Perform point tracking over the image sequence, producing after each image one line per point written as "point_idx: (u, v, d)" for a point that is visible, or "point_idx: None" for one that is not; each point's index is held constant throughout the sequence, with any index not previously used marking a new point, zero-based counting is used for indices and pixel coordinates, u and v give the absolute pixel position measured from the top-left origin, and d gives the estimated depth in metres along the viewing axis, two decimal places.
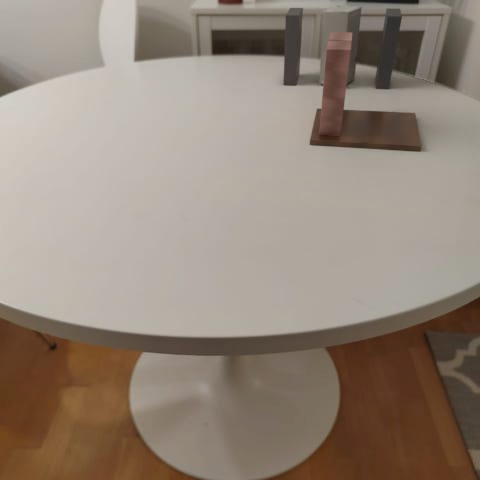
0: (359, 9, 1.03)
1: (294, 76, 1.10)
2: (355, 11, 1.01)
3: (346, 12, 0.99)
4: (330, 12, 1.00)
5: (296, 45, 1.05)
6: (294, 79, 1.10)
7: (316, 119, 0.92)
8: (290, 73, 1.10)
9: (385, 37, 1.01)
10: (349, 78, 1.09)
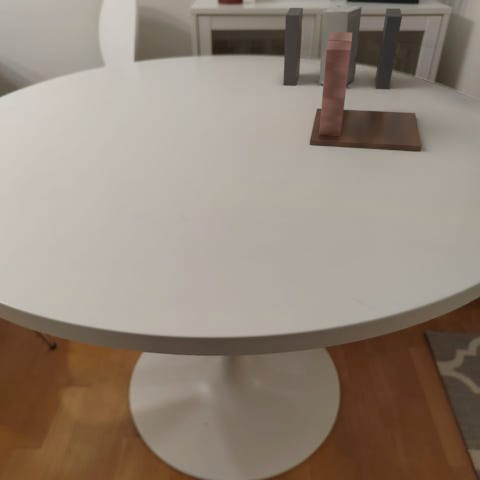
0: (359, 9, 1.03)
1: (294, 76, 1.10)
2: (355, 11, 1.01)
3: (346, 12, 0.99)
4: (330, 12, 1.00)
5: (296, 45, 1.05)
6: (294, 79, 1.10)
7: (316, 119, 0.92)
8: (290, 73, 1.10)
9: (385, 37, 1.01)
10: (349, 78, 1.09)
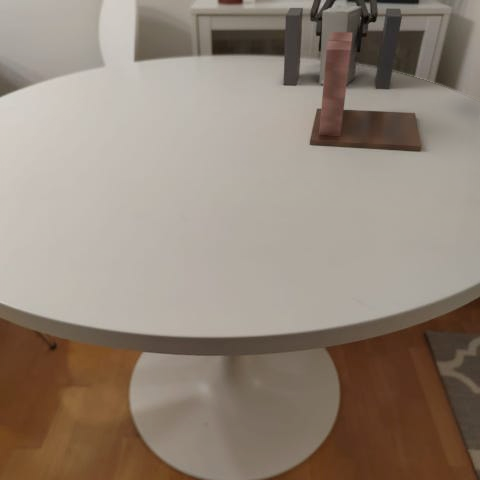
0: (359, 9, 1.03)
1: (294, 76, 1.10)
2: (355, 11, 1.01)
3: (346, 12, 0.99)
4: (330, 12, 1.00)
5: (296, 45, 1.05)
6: (294, 79, 1.10)
7: (316, 119, 0.92)
8: (290, 73, 1.10)
9: (385, 37, 1.01)
10: (349, 77, 1.09)
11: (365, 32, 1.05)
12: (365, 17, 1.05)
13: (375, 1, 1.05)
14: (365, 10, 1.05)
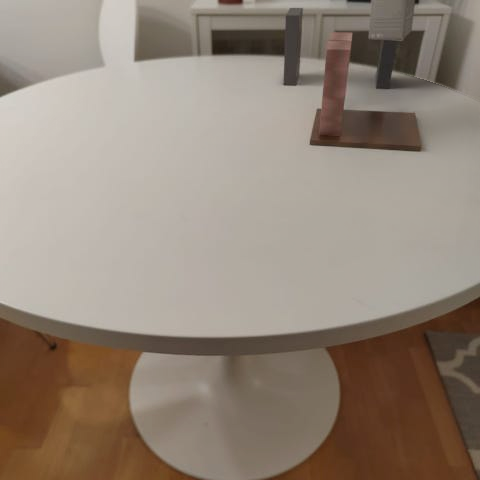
0: None
1: (294, 76, 1.10)
2: None
3: None
4: None
5: (296, 45, 1.05)
6: (294, 79, 1.10)
7: (316, 119, 0.92)
8: (290, 73, 1.10)
9: None
10: (408, 28, 0.82)
11: None
12: None
13: None
14: None
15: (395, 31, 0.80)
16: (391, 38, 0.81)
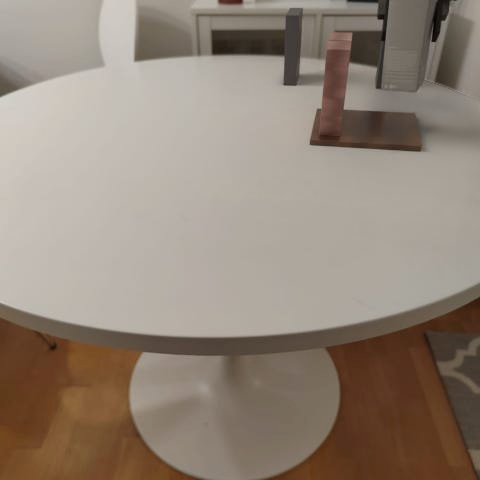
0: None
1: (294, 76, 1.10)
2: None
3: None
4: None
5: (296, 45, 1.05)
6: (294, 79, 1.10)
7: (316, 119, 0.92)
8: (290, 73, 1.10)
9: None
10: (421, 79, 0.80)
11: (445, 14, 0.75)
12: None
13: None
14: None
15: (408, 83, 0.78)
16: (404, 90, 0.79)
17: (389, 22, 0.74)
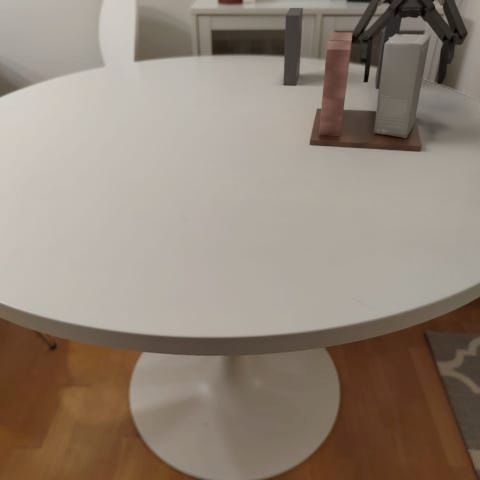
0: (429, 39, 0.79)
1: (294, 76, 1.10)
2: (426, 42, 0.77)
3: (418, 44, 0.74)
4: (395, 44, 0.76)
5: (296, 45, 1.05)
6: (294, 79, 1.10)
7: (316, 119, 0.92)
8: (290, 73, 1.10)
9: (385, 37, 1.01)
10: (412, 124, 0.85)
11: (450, 58, 0.80)
12: (452, 39, 0.80)
13: (459, 18, 0.80)
14: (448, 30, 0.80)
15: (399, 129, 0.83)
16: (396, 134, 0.84)
17: (382, 73, 0.79)
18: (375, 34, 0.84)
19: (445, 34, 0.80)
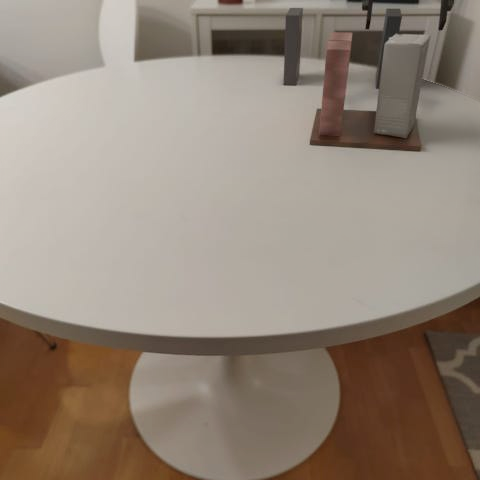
0: (429, 39, 0.79)
1: (294, 76, 1.10)
2: (426, 42, 0.77)
3: (418, 45, 0.74)
4: (395, 44, 0.76)
5: (296, 45, 1.05)
6: (294, 79, 1.10)
7: (316, 119, 0.92)
8: (290, 73, 1.10)
9: (385, 37, 1.01)
10: (412, 124, 0.85)
11: (451, 5, 0.85)
12: None
13: None
14: None
15: (399, 129, 0.83)
16: (396, 134, 0.84)
17: (382, 73, 0.79)
18: None
19: None
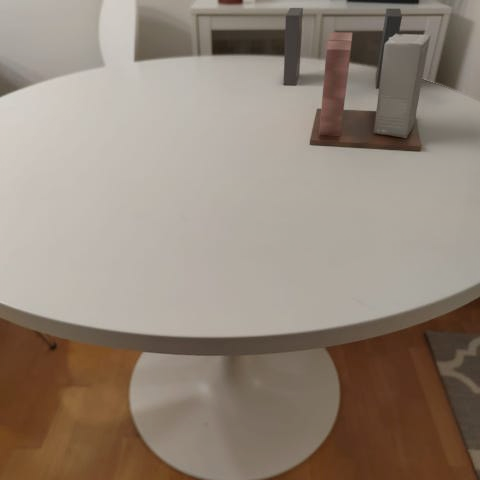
0: (429, 39, 0.79)
1: (294, 76, 1.10)
2: (426, 42, 0.77)
3: (418, 45, 0.74)
4: (395, 44, 0.76)
5: (296, 45, 1.05)
6: (294, 79, 1.10)
7: (316, 119, 0.92)
8: (290, 73, 1.10)
9: (385, 37, 1.01)
10: (412, 124, 0.85)
11: None
12: None
13: None
14: None
15: (399, 129, 0.83)
16: (396, 134, 0.84)
17: (382, 73, 0.79)
18: None
19: None
